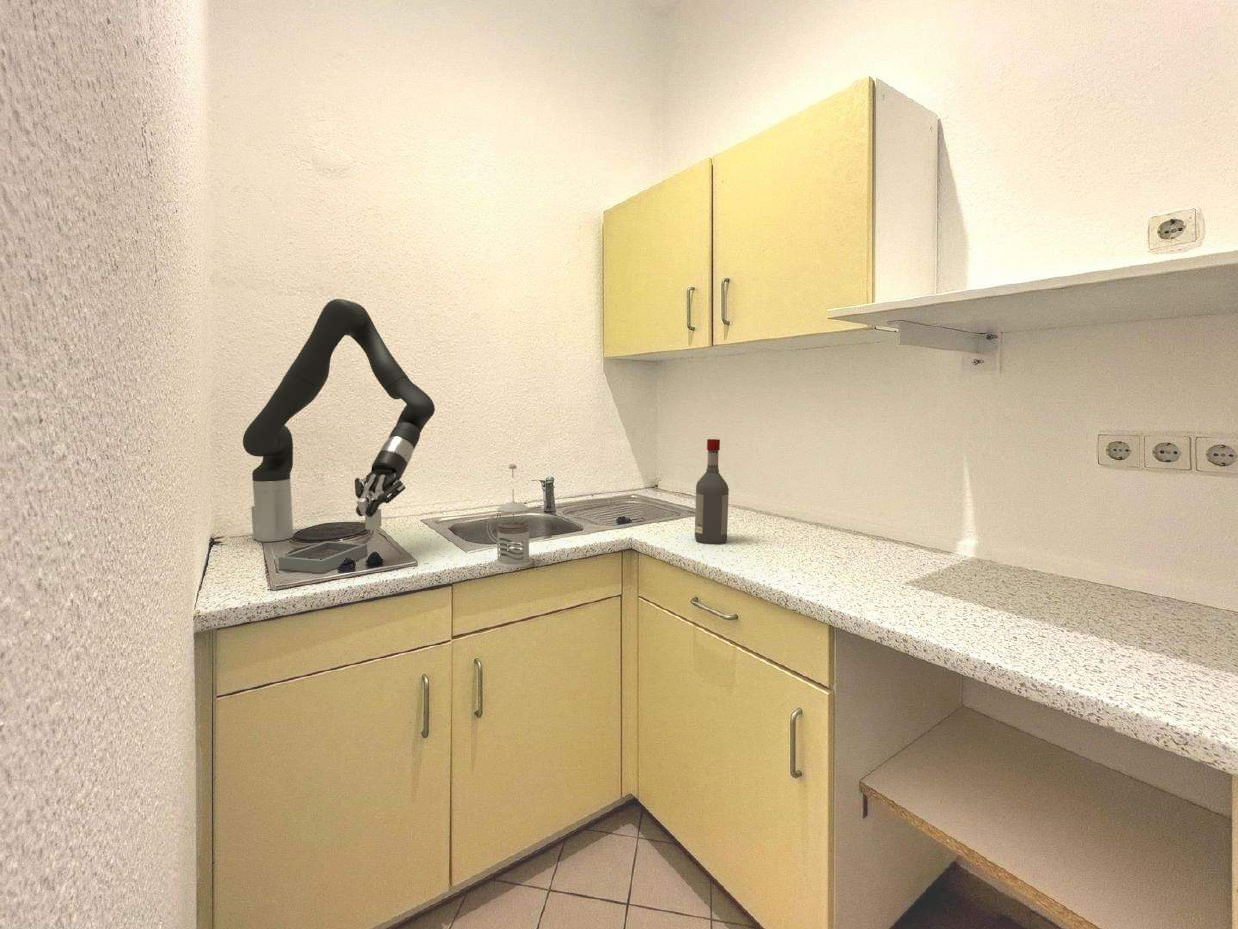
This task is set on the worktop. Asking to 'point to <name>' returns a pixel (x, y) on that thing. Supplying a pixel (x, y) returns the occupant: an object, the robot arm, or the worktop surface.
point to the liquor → (711, 501)
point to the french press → (512, 536)
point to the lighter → (369, 521)
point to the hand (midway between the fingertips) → (363, 514)
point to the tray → (302, 564)
